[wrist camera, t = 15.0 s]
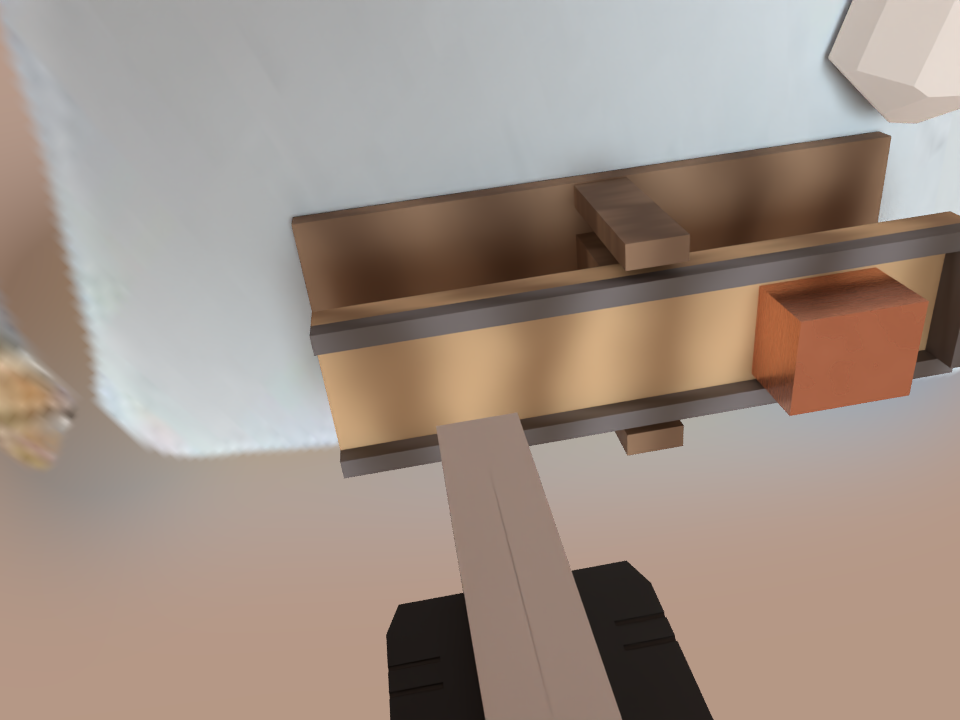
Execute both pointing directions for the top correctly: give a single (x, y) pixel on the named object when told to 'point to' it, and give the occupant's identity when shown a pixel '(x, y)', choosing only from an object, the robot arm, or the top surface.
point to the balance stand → (591, 227)
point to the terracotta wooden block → (837, 340)
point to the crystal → (902, 56)
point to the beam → (601, 341)
